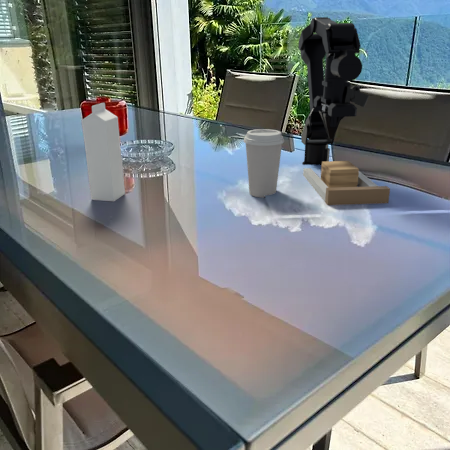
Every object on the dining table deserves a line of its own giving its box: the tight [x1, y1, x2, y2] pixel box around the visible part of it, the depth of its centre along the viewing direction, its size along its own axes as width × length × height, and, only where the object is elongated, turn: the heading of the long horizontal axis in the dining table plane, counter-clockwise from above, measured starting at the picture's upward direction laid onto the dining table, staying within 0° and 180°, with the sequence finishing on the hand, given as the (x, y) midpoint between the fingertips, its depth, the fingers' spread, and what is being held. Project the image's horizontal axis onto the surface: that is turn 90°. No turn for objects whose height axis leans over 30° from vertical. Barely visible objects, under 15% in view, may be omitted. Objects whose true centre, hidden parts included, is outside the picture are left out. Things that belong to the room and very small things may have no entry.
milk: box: [81, 102, 126, 202], centre depth 107 cm, size 6×6×22 cm
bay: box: [302, 167, 391, 206], centre depth 114 cm, size 24×14×4 cm, turn 4°
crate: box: [320, 160, 360, 188], centre depth 116 cm, size 8×7×5 cm
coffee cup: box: [243, 128, 285, 199], centre depth 110 cm, size 10×10×15 cm
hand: (331, 138), depth 122 cm, fingers closed
